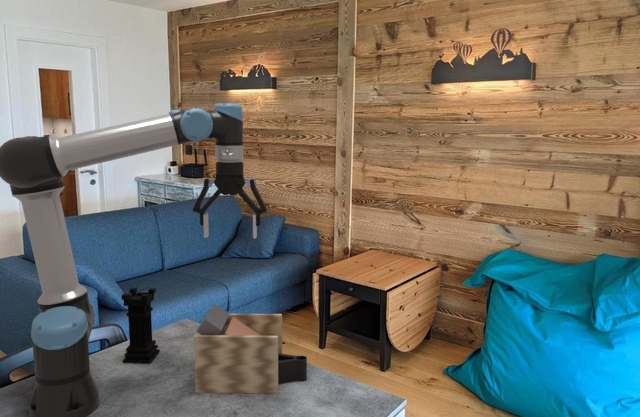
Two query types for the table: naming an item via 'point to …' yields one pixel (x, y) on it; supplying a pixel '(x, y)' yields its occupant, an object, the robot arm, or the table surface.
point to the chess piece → (140, 327)
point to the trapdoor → (222, 324)
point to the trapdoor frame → (240, 357)
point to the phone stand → (291, 368)
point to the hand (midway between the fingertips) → (230, 237)
